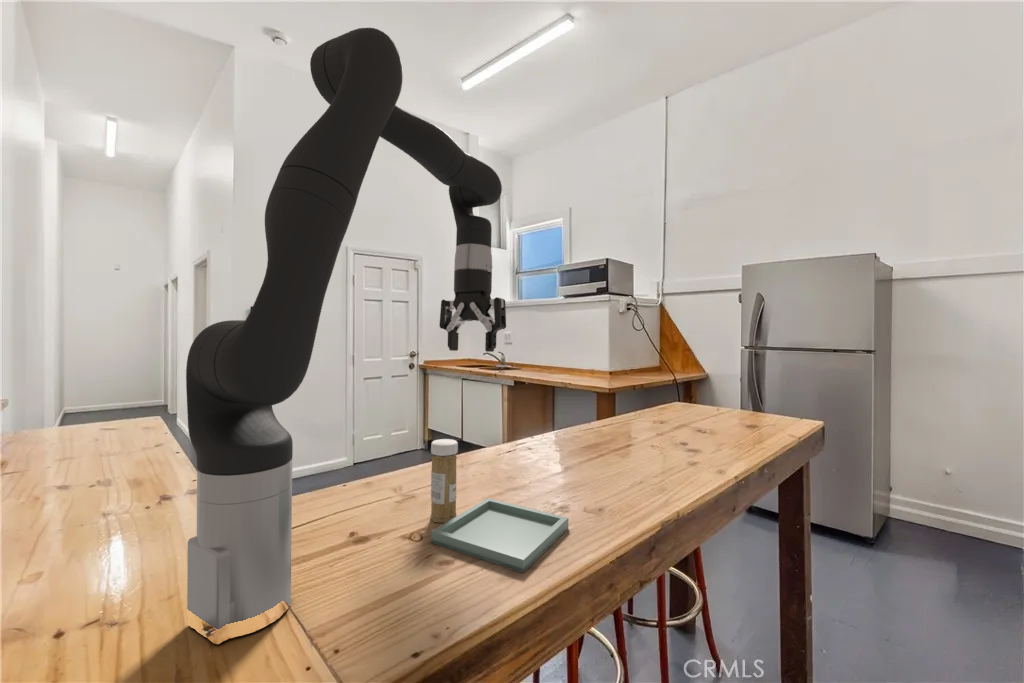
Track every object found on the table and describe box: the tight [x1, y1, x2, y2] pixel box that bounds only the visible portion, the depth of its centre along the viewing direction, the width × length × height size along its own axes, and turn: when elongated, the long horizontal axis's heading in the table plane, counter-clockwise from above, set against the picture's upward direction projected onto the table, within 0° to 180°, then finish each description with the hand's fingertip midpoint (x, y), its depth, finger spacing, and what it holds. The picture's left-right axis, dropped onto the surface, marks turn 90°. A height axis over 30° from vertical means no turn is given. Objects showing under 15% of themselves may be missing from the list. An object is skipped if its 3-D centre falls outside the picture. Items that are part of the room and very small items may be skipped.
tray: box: [430, 497, 569, 574], centre depth 71 cm, size 16×16×2 cm
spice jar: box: [430, 438, 459, 524], centre depth 76 cm, size 5×5×14 cm
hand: (471, 351), depth 88 cm, fingers open, 8 cm apart
